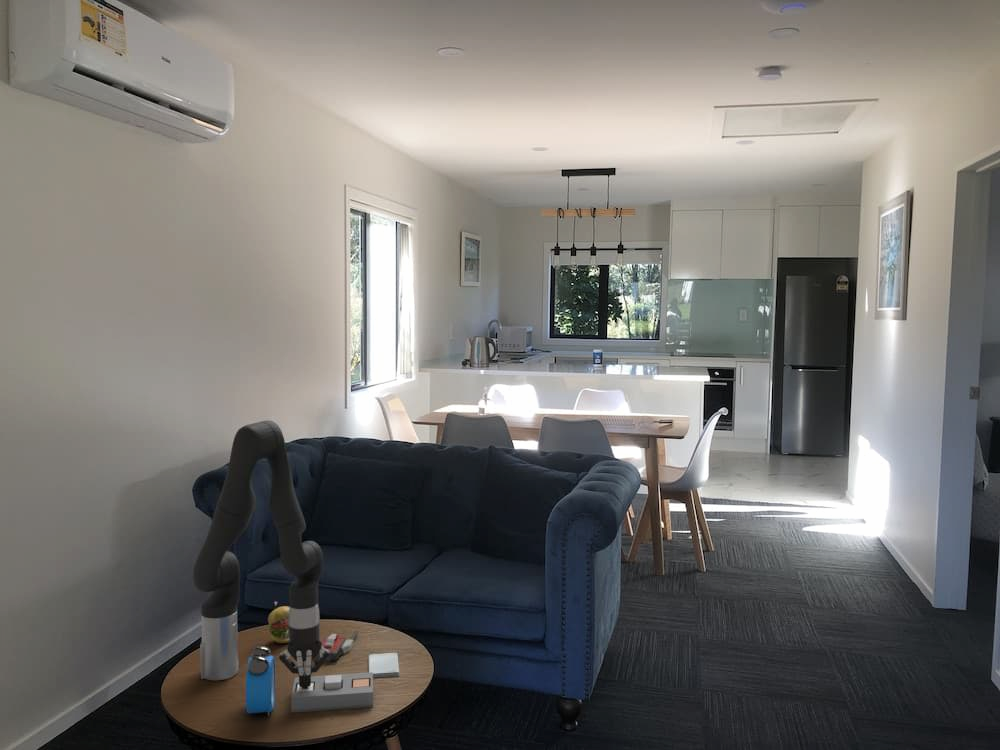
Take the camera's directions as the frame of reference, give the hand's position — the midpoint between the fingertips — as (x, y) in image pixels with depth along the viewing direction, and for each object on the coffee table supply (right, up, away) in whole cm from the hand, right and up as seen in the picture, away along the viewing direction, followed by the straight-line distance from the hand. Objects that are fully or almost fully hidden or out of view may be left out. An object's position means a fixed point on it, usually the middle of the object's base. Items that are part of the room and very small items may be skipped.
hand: (305, 687), depth 204 cm
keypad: (+7, -4, +2) cm, 8 cm away
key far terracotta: (+14, -3, +3) cm, 14 cm away
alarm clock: (-10, -4, -4) cm, 12 cm away
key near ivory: (0, -3, 0) cm, 3 cm away
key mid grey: (+7, -1, +1) cm, 7 cm away
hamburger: (-16, 0, +36) cm, 40 cm away
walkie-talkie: (+2, -1, +32) cm, 32 cm away
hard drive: (+17, -3, +20) cm, 26 cm away
